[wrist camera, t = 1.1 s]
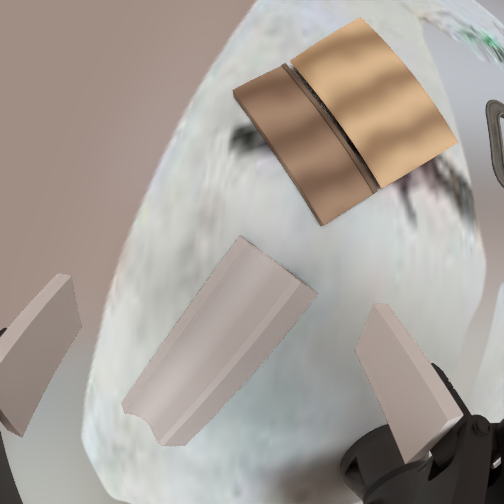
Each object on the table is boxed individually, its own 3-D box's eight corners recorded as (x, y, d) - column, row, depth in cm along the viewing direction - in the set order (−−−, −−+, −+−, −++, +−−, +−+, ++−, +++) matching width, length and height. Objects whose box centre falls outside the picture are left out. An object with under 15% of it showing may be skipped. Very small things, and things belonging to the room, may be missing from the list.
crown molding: (241, 236, 35) (239, 236, 32) (319, 293, 35) (325, 299, 32) (124, 401, 37) (114, 412, 34) (187, 444, 37) (182, 458, 34)
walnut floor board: (371, 193, 34) (378, 190, 31) (320, 226, 34) (324, 225, 32) (285, 71, 33) (286, 62, 31) (233, 97, 34) (232, 89, 31)
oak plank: (454, 143, 27) (458, 142, 26) (381, 187, 33) (381, 188, 31) (361, 23, 27) (360, 17, 25) (293, 66, 33) (289, 61, 31)
